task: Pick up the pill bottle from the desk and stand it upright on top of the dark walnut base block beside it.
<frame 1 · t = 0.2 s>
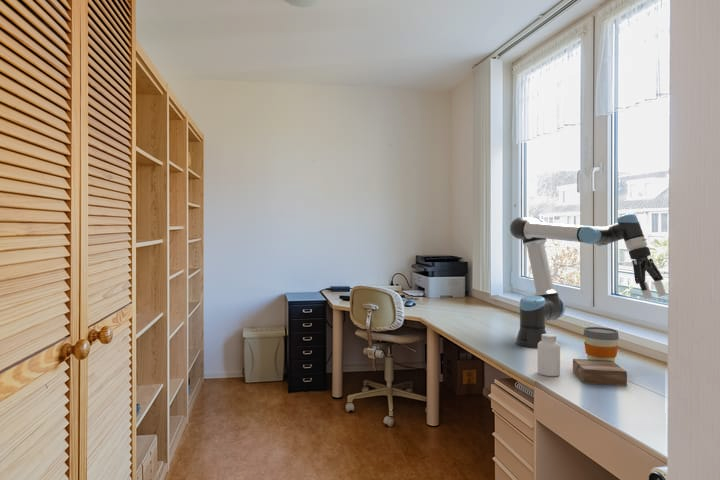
hand: (655, 297, 179), 28 cm above the table, tool tilted 20°, fingers open, 13 cm apart
walnut base: (598, 378, 160), on the table
reusable coffee cup: (600, 367, 175), on the table
pill bottle: (548, 374, 165), on the table
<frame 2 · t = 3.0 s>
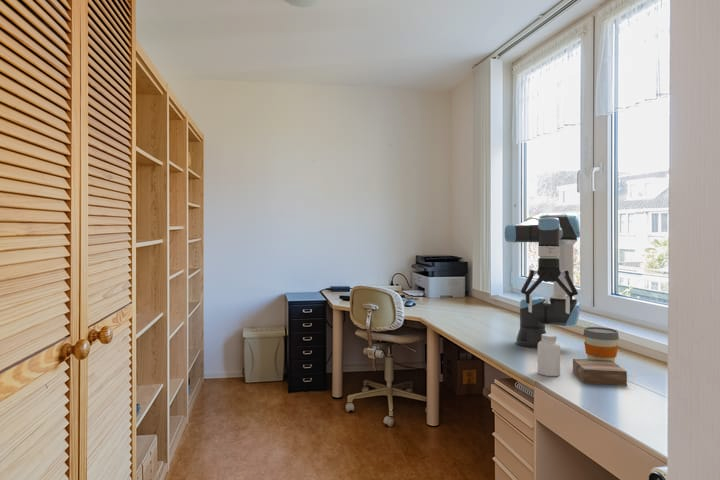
hand: (548, 312, 165), 24 cm above the table, tool pointing down, fingers open, 13 cm apart
nothing on the table moved.
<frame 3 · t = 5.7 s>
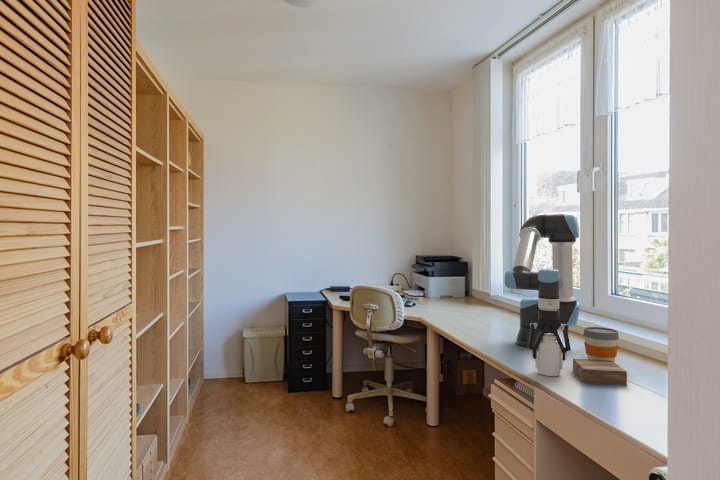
hand: (548, 367, 165), 2 cm above the table, tool pointing down, fingers closed on pill bottle, 8 cm apart
pill bottle: (548, 374, 165), on the table, touching gripper
everything else where it was.
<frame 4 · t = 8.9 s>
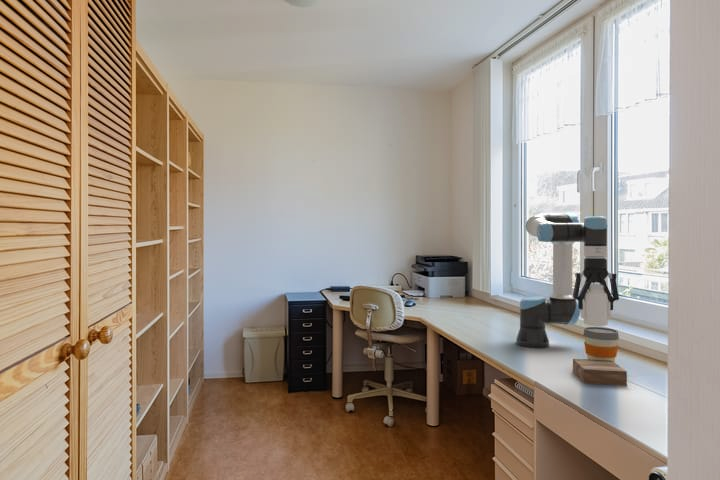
hand: (595, 318, 160), 22 cm above the table, tool pointing down, fingers closed on pill bottle, 8 cm apart
pill bottle: (595, 324, 160), point 20 cm above the table, touching gripper
everything else where it was.
when the fingers open (9 cm above the table, at t = 12.4 s): pill bottle drops 1 cm, resting on walnut base.
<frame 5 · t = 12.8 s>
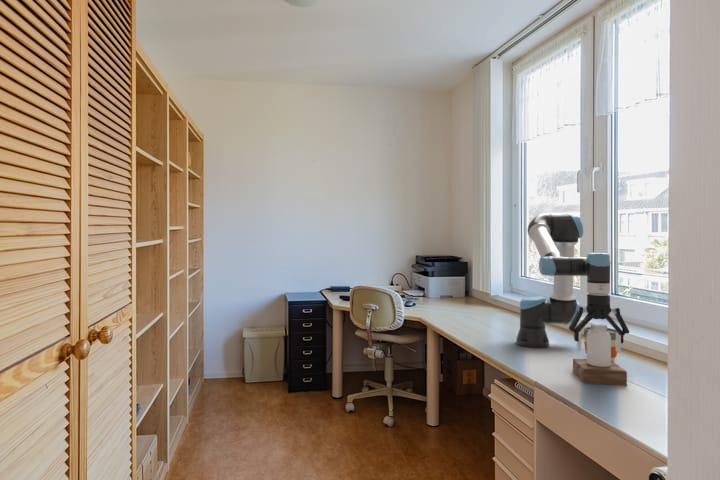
hand: (598, 351, 160), 10 cm above the table, tool pointing down, fingers open, 13 cm apart
pill bottle: (598, 365, 160), point 5 cm above the table, touching walnut base
everything else where it was.
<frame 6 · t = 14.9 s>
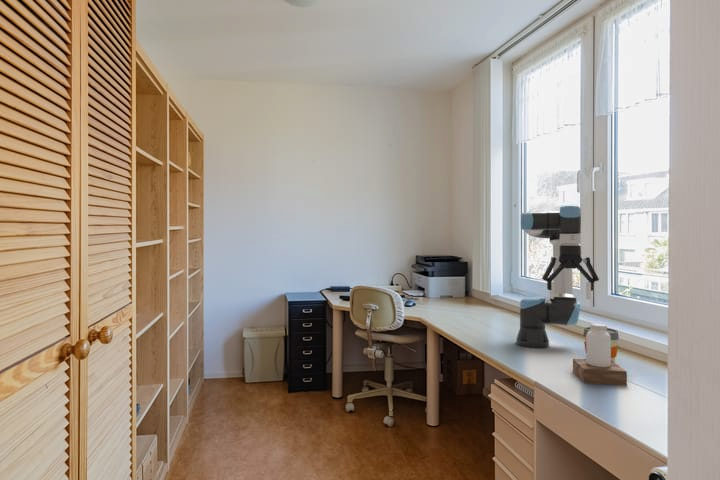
hand: (570, 298, 168), 29 cm above the table, tool pointing down, fingers open, 13 cm apart
nothing on the table moved.
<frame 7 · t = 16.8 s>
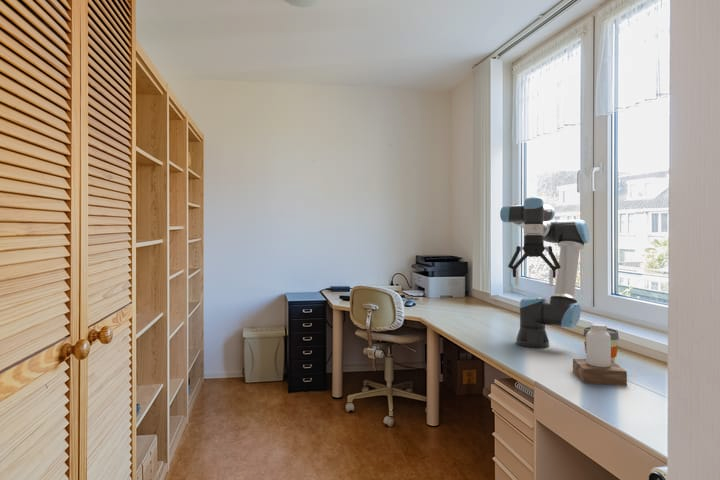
hand: (533, 285, 179), 33 cm above the table, tool pointing down, fingers open, 13 cm apart
nothing on the table moved.
at the end: pill bottle 0.0 cm off-centre on the walnut base, point 4.8 cm above the walnut base's base; pill bottle tilted 0°; the gripper is holding nothing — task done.
